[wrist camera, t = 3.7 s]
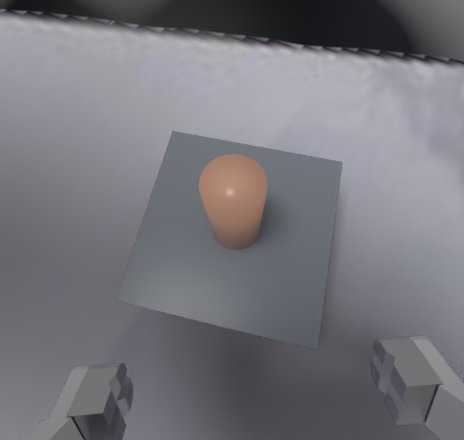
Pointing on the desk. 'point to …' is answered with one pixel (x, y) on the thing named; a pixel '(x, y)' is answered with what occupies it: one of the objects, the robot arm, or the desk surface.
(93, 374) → the robot arm
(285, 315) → the lid
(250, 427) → the desk surface
